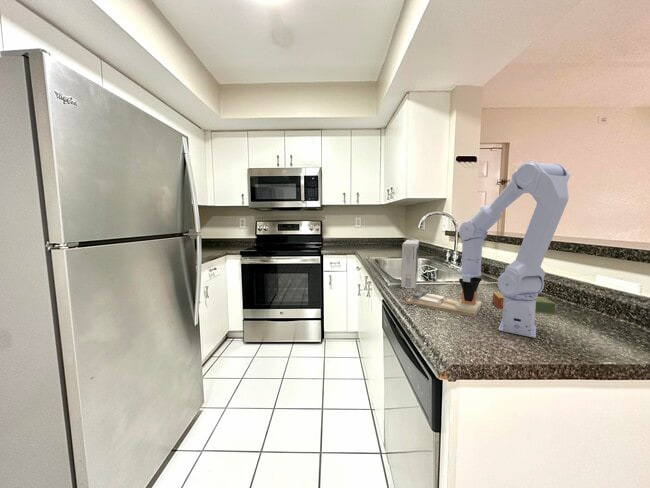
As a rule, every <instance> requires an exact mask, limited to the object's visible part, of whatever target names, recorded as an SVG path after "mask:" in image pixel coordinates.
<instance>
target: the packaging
mask: <svg viewBox="0 0 650 488" xmlns="http://www.w3.org/2000/svg"><path fill="white" fill-rule="evenodd" d="M401 246H402V247H401V249H402V250H401V273H400V274H401V279H400V282H401V283H400V288H401V287H405V288H416V289H417V284H416V282H418V276H419V251H420V240H419V239H406V240H405V241H404V242H403V243H402V245H401Z"/></svg>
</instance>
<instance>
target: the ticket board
mask: <svg viewBox="0 0 650 488" xmlns="http://www.w3.org/2000/svg"><path fill="white" fill-rule="evenodd" d="M460 300H461V299H456V298H449V297H448V296H445V295H438V294H432V293H429V290H427V289H421V290H419V291H417V292H416V293H414V294H412V296H410V298H408V299H407V300H406V299H405V303H407V304H406V305H408V304H412V305H411V306H414V305H417V306H416V307H419V306H422V307H421V308H424V307H426V309H431V310H435V311H441V312H446V313H452V314H456V315H462V316H467V317H472V318H475V317H476V316H477V314H478V313H479V312H480V310H481V308H482V307H483V303H481V306H480V307H479V309H478V310H477V311H476V312H475V311H469V310H464V309H458V308H456V304H457V303H458V302H459V301H460ZM405 303H404V304H405Z"/></svg>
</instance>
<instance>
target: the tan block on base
mask: <svg viewBox="0 0 650 488" xmlns="http://www.w3.org/2000/svg"><path fill="white" fill-rule="evenodd" d="M477 296H478V291H475V292H474V297H473V300H472V302H470V301H465V299H464V294H463V290H462V291H461V299H459V300H460V301H459V302H458V303H457V304H456V308H458V309H464V310H469V311H475V312H476V311H477V310H478V309H479V307H480V306H481V304H482V301H481V300H477V299H478V297H477Z"/></svg>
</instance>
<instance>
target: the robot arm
mask: <svg viewBox="0 0 650 488" xmlns="http://www.w3.org/2000/svg"><path fill="white" fill-rule="evenodd" d="M570 177H571V174H570V173H569V172H568V170H567V169H566V168H565V167H564V165H562V164H558V163H545V162H544V163H543V162H536V161H530V160H529V161H527V162H524V163H522V164H521V165H520V166H519V167H518V169H517V170H516V171H514V172H513V173H512V174H511V180H510V182H509V183H508V184H507V185H506V187H505V188H504V189H503V190H502V191H501V193H500V194H498V196H497V197H496V198H495V200H494V201H493V202H492V203H491V204H486V205H484V206H481V207H480V208H479V211H478V212H477V213H476V215H474V216H473V217H471V219H470V220H468V221H464V222H462V223H461V225H460V226H459V229H458V235H459V237H460V238H461V240H462V246H461V247H462V250H461V268H460V269H461V270H457V271H456V272H457V273H456V274H460V275H461V276H462V278H461V277H460V278H459V279H458V281H459V284H460V286H461V288H462V291H463V294H464V299H465V301H470V302H472V300H473V297H474V292H475V291H477V290H478V287H479V284H480V283H481V282H482V277H481V276H482V257H483V255H482V254H483V246H484V243H485V239H486V238H487V236H488V231H489V230H490V229H491V228H492V227H493V226H494V225H495V224H497V222H498V221H499V220H501V218H502V212H503V211H504V210H505V209H507V208H508V207H509V206H510V205H512V204H513V203H514V202H515V201H516V200H517V199H518V198H520V197H521V196H522V195H524V194H529V195H531V196H532V198H533V199H534V200H535V202H536V205H535V208H534V210H533V213H532V215H531V218H530V222H529V224H528V226H527V228H526V232H525V234H524V237H523V238H522V243H521V246H520V247H519V250H518V253H517V255H516V258H515V260H513V262H511V263H509V265H507V266H506V267H505V269H504V271H503V273H502V274H501V275H499V276H498V278H497V287H498V290H499V291H500V292H501V293H502V295H503V296H504V301H503V309H502V317H501V318H502V319H501V322H500V324H499V327H498V331H500V332H505V333H509V334H513V335H514V334H515V335H519V336H523V337H524V336H525V337H528V338H535V339H536V338H537V325H536V324H535V321H536V313H535V309H536V298H537V297H539V296H538V295H539V294H540V293H542V291H543V290H544V288H545V281H544V280H545V275H546V271H545V270H544V269H543V268H542V267H541V266H542V263H543V262H544V258H545V257H546V254H547V252H548V249H549V247H550V245H551V242H552V240H553V237H554V235H555V233H556V230H557V228H558V225H559V224H560V221H561V219H562V216H563V214H564V212H565V209H566V206H567V204H568V202H569V191H568V190H569V189H568V187H569V186H568V181H569V179H570ZM477 292H478V291H477Z"/></svg>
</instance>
